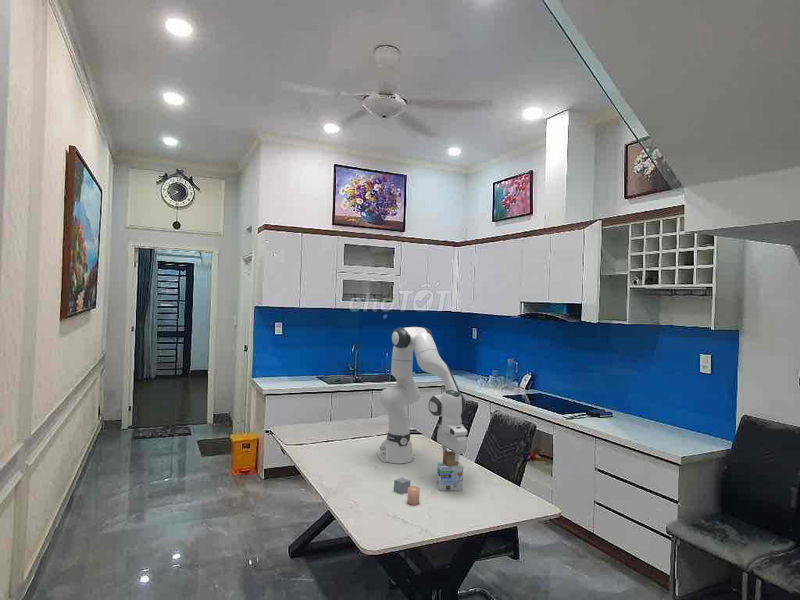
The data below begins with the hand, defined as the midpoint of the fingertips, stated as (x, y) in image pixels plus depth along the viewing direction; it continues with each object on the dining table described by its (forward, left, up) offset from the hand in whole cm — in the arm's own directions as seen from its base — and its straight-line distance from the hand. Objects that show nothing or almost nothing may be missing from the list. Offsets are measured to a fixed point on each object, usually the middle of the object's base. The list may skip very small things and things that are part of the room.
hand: (450, 457), depth 228 cm
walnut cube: (0, 0, -3) cm, 3 cm away
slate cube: (-4, -22, -14) cm, 26 cm away
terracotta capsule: (+9, -23, -14) cm, 28 cm away
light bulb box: (0, 0, -14) cm, 14 cm away
